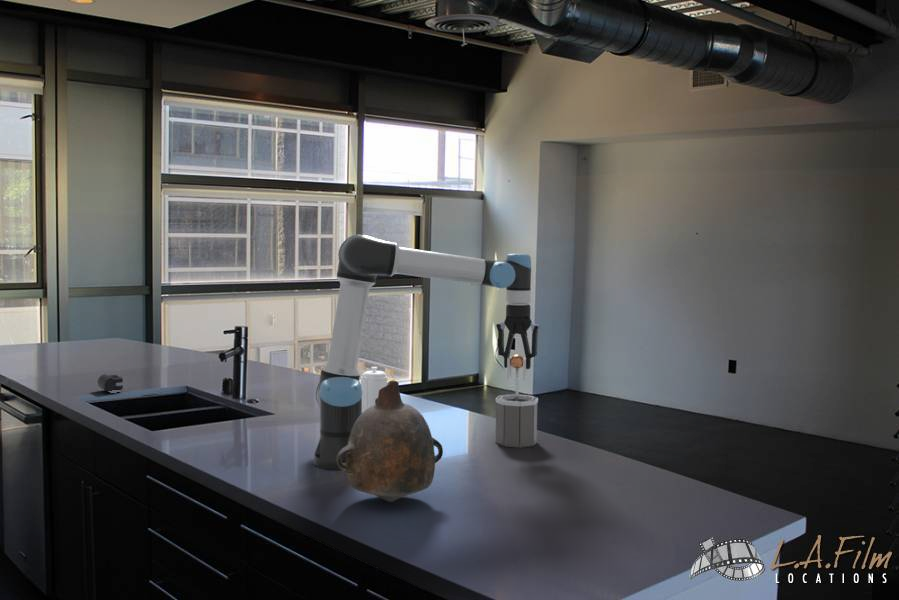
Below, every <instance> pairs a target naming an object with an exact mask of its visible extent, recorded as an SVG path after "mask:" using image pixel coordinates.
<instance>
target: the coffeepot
mask: <svg viewBox="0 0 899 600" xmlns="http://www.w3.org/2000/svg"><path fill="white" fill-rule="evenodd" d="M377 369H378V366H371V370H367V371H365V372H363V373H362V375H360V383H361V386H362V392H363V394H362V413H363V412H364V411H365V410H366V409H368V408H369V407H371V406H373V405H375V400H376V398H378V395H379V390H380V389H381V388H383V387H385V386H386V385H387V384H388V379H389V378H388V376H387V374H386V372H385V371H383V370H377Z"/></svg>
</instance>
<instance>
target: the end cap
mask: <svg viewBox="0 0 899 600" xmlns="http://www.w3.org/2000/svg"><path fill="white" fill-rule="evenodd" d="M123 382H124V381H123V377H121V376H119V375H117V374H110V375H108V374H106V373H105V374H101V375H99V377H98V378H97V386H98V387H99V388H100V389H101V390H103V389H104V390H103V391H105V390H106V391H105V392H107V391H112V390H120V389H124V385H117V384H118V383H119V384H121V383H123Z"/></svg>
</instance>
